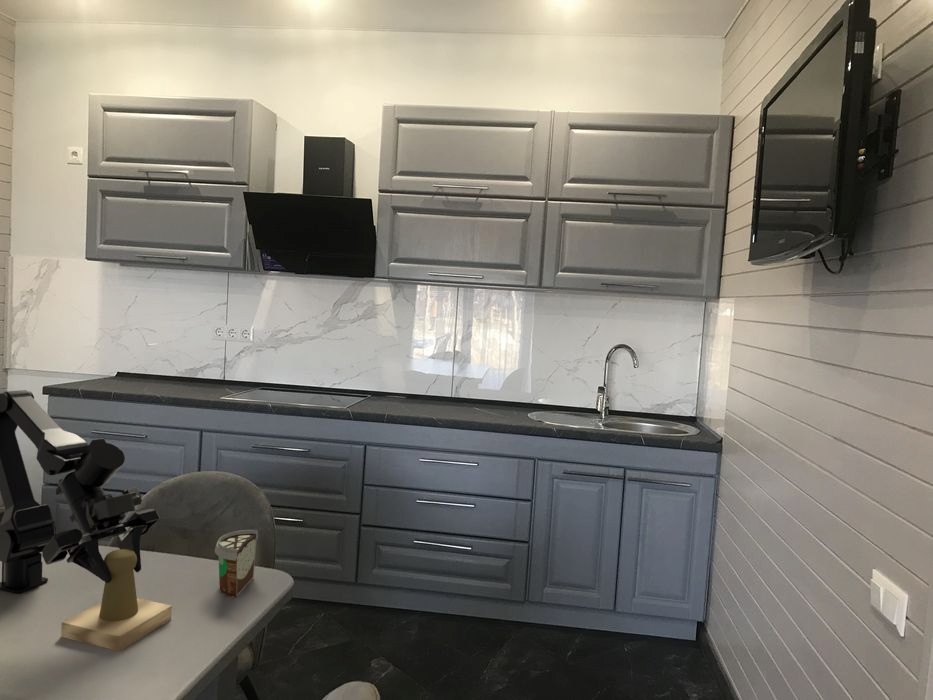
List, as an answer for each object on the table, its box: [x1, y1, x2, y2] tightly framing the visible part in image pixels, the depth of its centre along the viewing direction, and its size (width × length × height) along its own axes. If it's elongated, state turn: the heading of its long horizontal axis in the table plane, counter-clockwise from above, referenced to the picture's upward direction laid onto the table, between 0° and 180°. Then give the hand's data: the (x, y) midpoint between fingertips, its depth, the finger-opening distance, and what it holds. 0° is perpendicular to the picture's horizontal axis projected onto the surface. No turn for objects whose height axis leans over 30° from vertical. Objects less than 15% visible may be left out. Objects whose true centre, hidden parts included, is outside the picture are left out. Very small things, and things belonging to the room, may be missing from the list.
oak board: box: [60, 597, 173, 652], centre depth 114 cm, size 12×12×2 cm
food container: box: [214, 529, 259, 598], centre depth 133 cm, size 12×6×10 cm, turn 178°
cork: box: [99, 549, 138, 621], centre depth 114 cm, size 6×6×11 cm
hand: (124, 576), depth 113 cm, fingers open, 5 cm apart
